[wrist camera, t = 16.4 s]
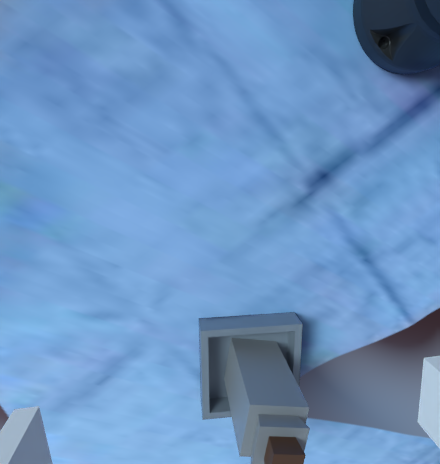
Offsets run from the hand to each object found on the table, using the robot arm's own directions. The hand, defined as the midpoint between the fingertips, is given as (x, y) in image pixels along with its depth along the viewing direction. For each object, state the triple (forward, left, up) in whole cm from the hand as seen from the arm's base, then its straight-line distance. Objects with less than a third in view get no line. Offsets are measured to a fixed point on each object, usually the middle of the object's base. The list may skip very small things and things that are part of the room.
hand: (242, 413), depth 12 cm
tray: (-7, +22, -36) cm, 43 cm away
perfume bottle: (-8, +22, -35) cm, 42 cm away
